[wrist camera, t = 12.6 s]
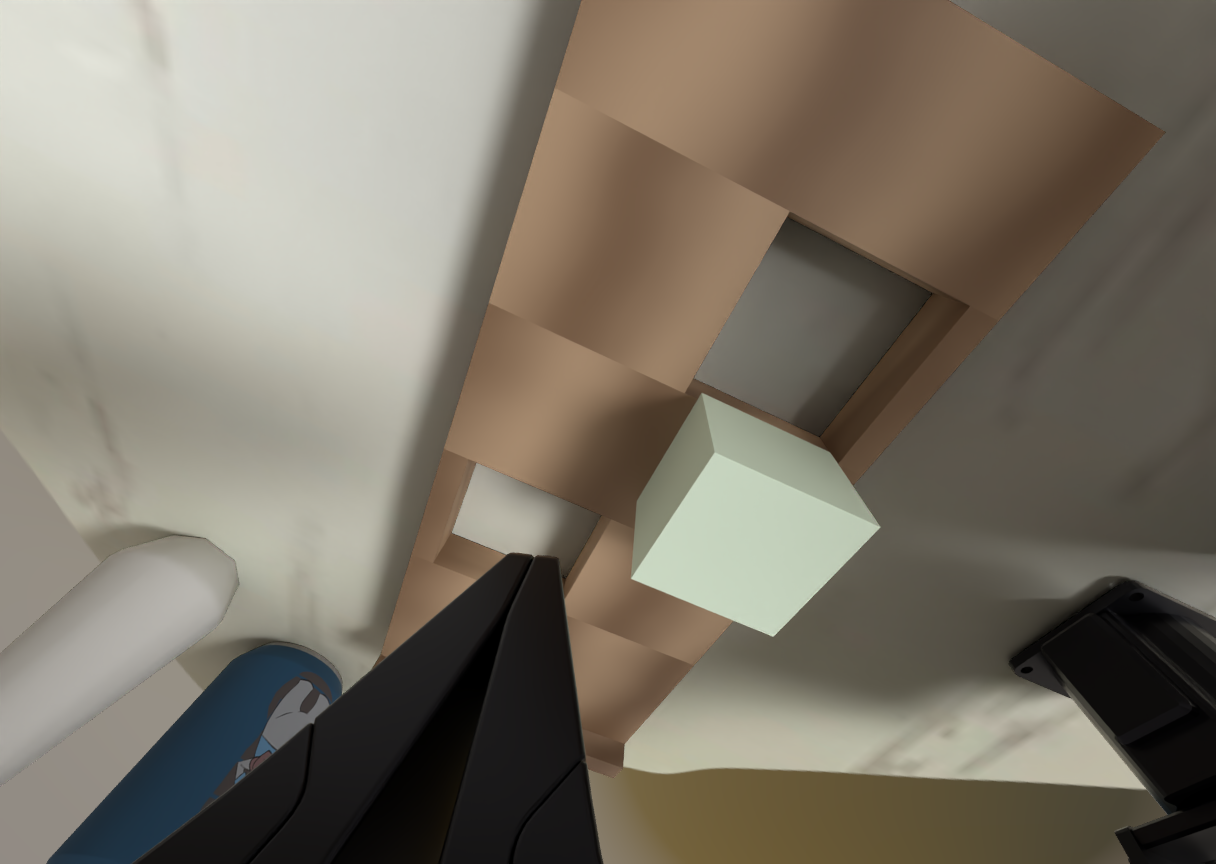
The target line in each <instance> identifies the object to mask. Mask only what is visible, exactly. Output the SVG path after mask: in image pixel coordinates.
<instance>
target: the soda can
mask: <svg viewBox="0 0 1216 864" xmlns="http://www.w3.org/2000/svg"><path fill="white" fill-rule="evenodd" d="M341 695H342V679H341V676H340V674H339V672H338V671H337V669H336V668H335V667H334V666H333V665H332V664H331V663H330V662H329V661H328V660H327V659H326V658H324V657H323V656H321V655H320V654H318V653H316V652H314V651H312V650H310V649H308V648H306V647H303V646H300V645H297V644H292V643H286V642H273V643H268V644H265V645H263V646H261V647H258V648H256V649H254V650H251V651H249V652H247V653H245V654H243V655H240V656H239V657H237V658H235V659H234V660H233V661H231V662H230V663H229V664H228V666H227V667H226V668H225V669H224V670H223V671H222V672H221V673H220V674H219V675H218V676H217V677H216V679H215V680H214V681H213V682H212V683H211V684H210V685H209V686H208V687H207V688H206V689H205V690H204V692H203V693H202V694H201V695H200V696H199V697H198V698H197V699H196V700H195V701H194V702H193V704H192V705H191V706H190V707H189V708H188V709H187V710H186V711H185V712H184V713H183V714H182V715H181V717H180V718H179V719H178V720H177V721H176V722H175V723H174V724H173V725H172V726H171V727H170V729H169V730H168V731H167V732H166V733H165V734H164V735H163V736H162V737H161V738H160V739H159V740H158V741H157V743H156V744H155V745H154V746H153V747H152V748H151V749H150V750H149V751H148V752H147V753H146V755H145V756H144V757H143V758H142V759H141V760H140V761H139V762H138V763H137V764H136V765H135V766H134V768H133V769H132V770H131V771H130V772H129V773H128V774H127V775H126V776H125V777H124V778H123V780H121V782H120V783H119V784H118V785H117V786H116V787H115V788H114V789H113V790H112V791H111V793H109V795H108V796H107V797H106V798H105V799H104V800H103V801H102V802H101V803H100V804H99V806H98V807H97V808H96V809H95V810H94V811H93V812H92V813H91V814H90V815H89V816H88V817H87V818H86V820H85V821H84V822H83V823H82V824H81V825H80V826H79V827H78V828H77V829H76V831H74V833H73V834H72V835H71V836H70V837H69V838H68V839H67V840H66V841H65V842H64V843H63V844H62V846H61V847H60V848H59V849H58V850H57V851H56V852H55V853H54V854H53V855H52V857H50V859H49V860H48V861H47V863H46V864H131V863H133V862H134V861H135V860H137V859H138V858H139V857H141V856H142V855H143V854H145V853H146V852H147V851H149V850H150V849H151V848H153V847H154V846H155V845H157V844H158V843H159V842H161V841H162V840H163V839H165V838H166V837H167V836H169V835H170V834H171V833H173V832H174V831H175V830H176V829H178V828H179V827H180V826H182V825H183V824H184V823H186V822H187V821H188V820H190V819H191V818H192V817H193V816H195V815H196V814H197V813H199V812H200V811H201V810H203V809H204V808H205V807H206V806H208V805H209V804H210V803H212V802H213V801H214V800H216V799H217V798H218V797H219V796H221V795H222V794H223V793H225V792H226V791H227V790H228V789H230V788H231V787H232V786H233V785H235V784H236V783H237V782H238V781H239V780H241V779H242V778H243V777H244V776H246V775H247V774H248V773H249V772H250V771H252V770H253V769H254V768H255V767H257V766H258V765H259V764H260V763H261V762H263V761H264V760H265V759H266V758H267V757H269V756H270V755H271V754H272V753H274V752H275V751H276V750H277V749H278V748H280V747H281V746H282V745H283V744H284V743H286V742H287V741H288V740H289V739H290V738H291V737H293V736H294V735H295V734H296V733H297V732H298V731H300V730H301V729H302V728H303V727H304V726H306V725H307V724H308V723H313V724H314V720H315V718H316V716H318V715H319V714H320V713H321V712H322V711H324V710H325V709H326V708H327V707H328V706H329V705H331V704H332V703H333V702H334V701H335V700H336V699H338V698H339V697H340V696H341Z"/></svg>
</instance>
